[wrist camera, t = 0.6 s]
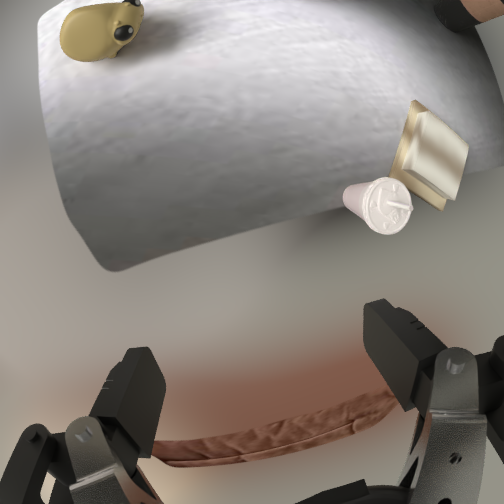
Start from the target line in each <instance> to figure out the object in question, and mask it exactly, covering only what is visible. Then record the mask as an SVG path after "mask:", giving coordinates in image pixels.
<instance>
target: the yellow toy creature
mask: <svg viewBox="0 0 504 504" xmlns="http://www.w3.org/2000/svg"><path fill="white" fill-rule="evenodd" d="M143 15H144V8H143V5H142V4H141V2H140V0H124V1H123V2H122V3H104V4H96V5H90V6H84V7H80V8H77V9H75V10H73V11H71V12H70V13H69V14H68V15H67V17H66V18H65V20H64V22H63V24H62V27H61V31H60V45H61V48H62V50H63V52H64V53H65V54H66V55H67V56H68V57H70V58H72V59H74V60H77V61H81V62H92V61H97V60H101V59H104V58H107V57H108V58H114V57H115V56H116V55H117V51H118V50H119V49H121V48H122V46H123V45H126V44H128V43H129V42H130V41H131V40H132V39H133V38H134V37H135V36H136V34H137V32H138V30H139V28H140V25H141V22H142V19H143Z"/></svg>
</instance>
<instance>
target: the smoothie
mask: <svg viewBox="0 0 504 504" xmlns="http://www.w3.org/2000/svg"><path fill="white" fill-rule="evenodd" d="M343 202H344V204H345V206H346V207H347V208H348V209H349V210H351V211H352V212H354V213H355V214H356V215H358V216H359V217H361V218H362V219H363V220H365V221H366V223H367V224H368V225H369V227H370V228H371V229H373V230H374V231H376V232H378V233H381V234H385V235H391V234H395V233H397V232H398V231H400V230H401V229H402V228H403V227H404V226H405V225H406V223H407V222H408V220H409V217H410V215H411V211H412V210H413V206H412V202H411V196H410V194H409V191H408V189H407V188H406V186H405V185H404V184H403V183H402V182H400V181H399V180H397V179H394V178H388V177H383V178H379V179H377V180H375V181H373V182H367V183H361V184H354V185H350V186H348V187H347V188H346V189H345V191H344V194H343Z"/></svg>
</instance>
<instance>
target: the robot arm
mask: <svg viewBox="0 0 504 504" xmlns="http://www.w3.org/2000/svg"><path fill="white" fill-rule="evenodd" d="M363 323H364V324H363V341H364V346H365V349H366V352H367V353H368V355H369V356H370V358H371V359H372V361H373V363H374V364H375V366H376V367H377V369H378V370H379V372H380V373H381V375H382V376H383V378H384V379H385V381H386V382H387V384H388V386H389V387H390V389H391V390H392V392H393V393H394V395H395V397H396V398H397V400H398V401H399V403H400V404H401V406H402V408H403V409H404V411H405V412H406V411H409V410H411V409H413V408H415V407H416V408H417V409H418V411H419V414H418V417H417V421H416V426H415V430H414V434H413V438H412V442H411V445H410V449H409V452H408V456H407V459H406V462H405V465H404V467H403V469H402V471H401V474H400V476H399V479H398V481H397V484H396V486H392V485H376V486H367V485H366V483H365V480H364V479H362V480H359V481H356V482H353V483H350V484H347V485H343V486H340V487H337V488H333V489H330V490H326V491H322V492H320V493H318V494H316V495H314V496H312V497H310V498H307V499H305V500H303V501H300V502H298V503H295V504H477V501H478V496H479V491H480V486H481V480H482V474H483V467H484V459H485V449H486V436H487V437H488V439H489V440H490V442H491V444H492V445H493V447H494V448H495V450H496V452H497V453H498V455H499V457H500V458H501V460H502V462H503V464H504V335H503V336H501V337H499V338H497V340H496V342H495V343H494V346H493V349H492V351H490V352H487V353H483V354H479V355H473V354H472V353H471V352H470V351H468V350H466V349H463V348H459V347H452V348H447V346H446V345H445V344H443V343H442V342H441V341H440V340H439V339H438V338H437V337H436V336H435V335H434V334H433V333H432V332H431V331H430V330H429V329H428V328H427V327H425V325H424V324H423V323H421V322H420V321H418V319H417V318H416V317H415V316H414V315H413V314H412V313H411V312H409V311H407V310H404V309H402V308H400V307H398V308H394V307H393V306H392V305H391V304H390V303H389V302H388V301H387V300H386V299H380V300H377V301H373V302H370V303H366V304H365V305H364V322H363ZM165 393H166V383H165V379H164V376H163V374H162V372H161V370H160V368H159V366H158V364H157V362H156V360H155V358H154V356H153V354H152V352H151V350H150V349H149V348H148V347H138V348H129V349H128V350H127V352H126V354H125V356H124V358H123V360H122V362H119V363H118V364H117V365H116V366H115V367H114V368H113V369H112V370H111V371H110V373H109V375H108V377H107V379H106V382H105V383H104V385H103V387H102V390H101V391H100V393H99V395H98V397H97V399H96V401H95V403H94V405H93V407H92V409H91V412H90V414H89V416H85V417H80V418H78V419H76V420H74V421H73V422H72V423H71V424H70V425H69V426H68V428H67V430H66V432H62V433H55V434H51V433H50V432H49V431H48V430H47V428H46V427H45V426H44V425H42V424H33V425H31V426H29V427H27V428H26V429H25V430H24V431H23V433H22V435H21V437H20V439H19V441H18V443H17V445H16V447H15V449H14V451H13V453H12V456H11V458H10V460H9V462H8V464H7V467H6V469H5V471H4V474H3V477H2V479H1V481H0V504H45V503H44V502H43V501H42V499H41V496H40V492H41V488H42V485H43V482H44V479H45V476H46V473H47V472H48V473H50V474H51V475H52V476H53V477H54V478H56V480H55V483H54V487H53V490H52V493H51V497H50V500H49V504H164V503H163V502H162V501H161V499H160V498H159V496H158V495H157V493H156V492H155V490H154V489H153V488H152V486H151V484H150V483H149V481H148V480H147V478H146V477H145V475H144V473H143V472H142V470H141V469H140V467H139V466H138V465H137V460H138V458H151V453H152V448H153V444H154V439H155V434H156V430H157V426H158V422H159V417H160V413H161V409H162V405H163V401H164V397H165Z"/></svg>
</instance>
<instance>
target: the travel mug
mask: <svg viewBox="0 0 504 504" xmlns="http://www.w3.org/2000/svg"><path fill="white" fill-rule="evenodd" d="M435 13H436V15H437V16H438V18H439V20H440V21H441V22H442V23H443V24H444V25H445V26H446V27H447V28H448V29H450V30H451V31H453V32H459V31H461V30H464V29H467V28H469V27H472V26H475V25H477V24H480V23H483V22H486V21H488V20H491V19H494V18H496V17H499V16H502V15H504V0H442V1H441V2H440V3H438V4H437V5H436V6H435Z"/></svg>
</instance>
